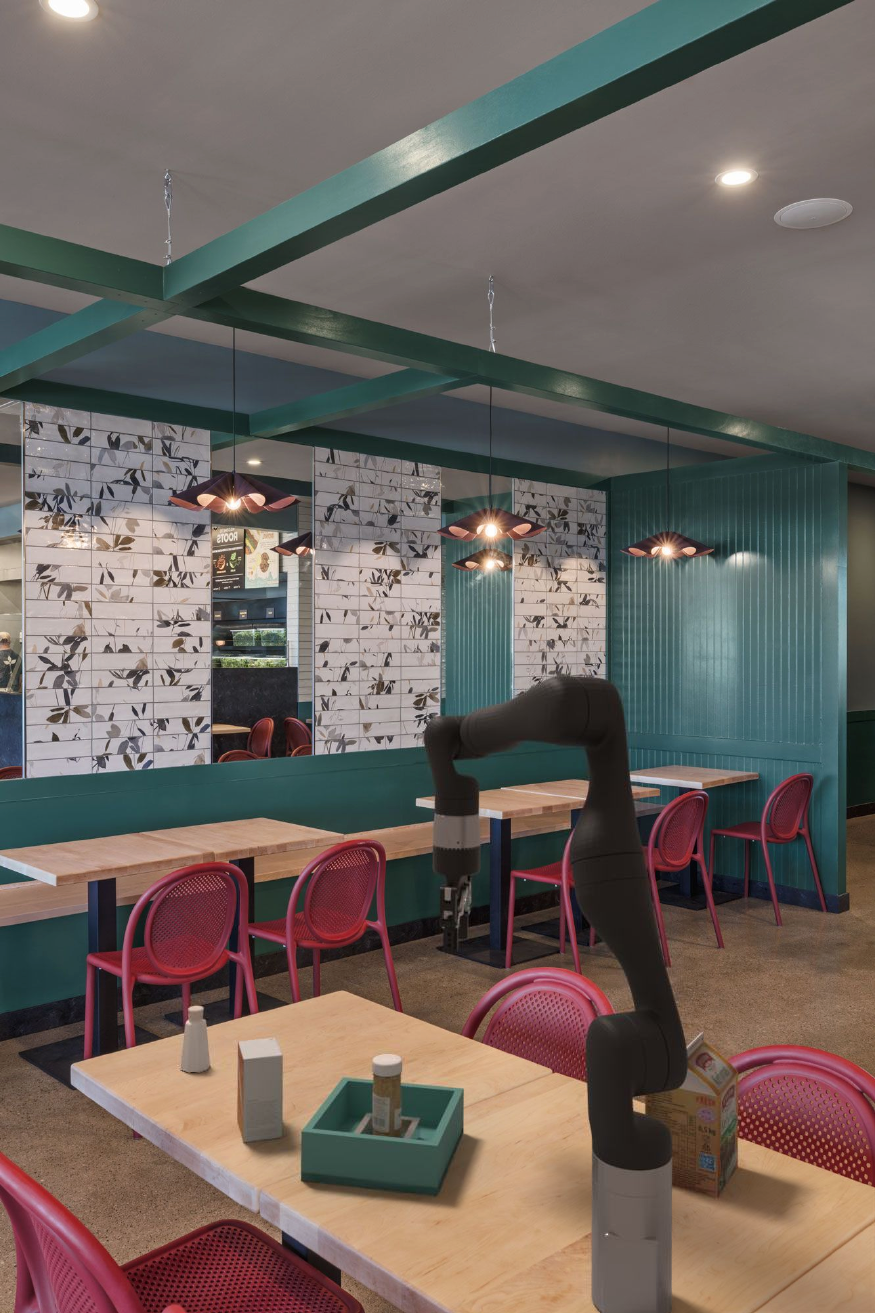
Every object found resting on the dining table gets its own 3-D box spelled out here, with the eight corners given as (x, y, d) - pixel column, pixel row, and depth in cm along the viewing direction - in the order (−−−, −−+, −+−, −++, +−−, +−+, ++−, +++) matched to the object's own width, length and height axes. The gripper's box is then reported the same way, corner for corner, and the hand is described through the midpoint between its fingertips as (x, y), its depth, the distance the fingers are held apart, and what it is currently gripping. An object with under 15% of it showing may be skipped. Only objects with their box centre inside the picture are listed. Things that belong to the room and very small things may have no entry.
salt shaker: (177, 1064, 189) (178, 1005, 189) (206, 1060, 191) (207, 1001, 191) (183, 1075, 184) (183, 1014, 184) (213, 1070, 186) (213, 1010, 186)
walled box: (437, 1196, 142) (437, 1146, 142) (300, 1180, 146) (301, 1131, 146) (463, 1133, 161) (463, 1088, 162) (342, 1120, 166) (343, 1077, 166)
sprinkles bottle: (407, 1150, 153) (408, 1060, 153) (381, 1158, 150) (381, 1066, 151) (391, 1138, 157) (392, 1050, 157) (366, 1146, 154) (366, 1056, 154)
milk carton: (717, 1198, 142) (717, 1061, 142) (644, 1178, 147) (645, 1046, 148) (737, 1167, 151) (738, 1038, 151) (668, 1149, 156) (669, 1025, 157)
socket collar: (407, 1164, 149) (407, 1143, 149) (350, 1157, 150) (350, 1137, 151) (420, 1137, 157) (420, 1118, 157) (366, 1132, 159) (366, 1112, 159)
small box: (236, 1121, 165) (237, 1040, 165) (275, 1116, 167) (276, 1036, 167) (242, 1143, 157) (242, 1059, 158) (283, 1138, 159) (283, 1054, 159)
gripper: (472, 851, 153) (471, 959, 152) (487, 836, 167) (486, 935, 166) (423, 848, 154) (422, 956, 154) (442, 834, 168) (441, 932, 168)
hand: (456, 945), depth 160 cm, fingers open, 8 cm apart
